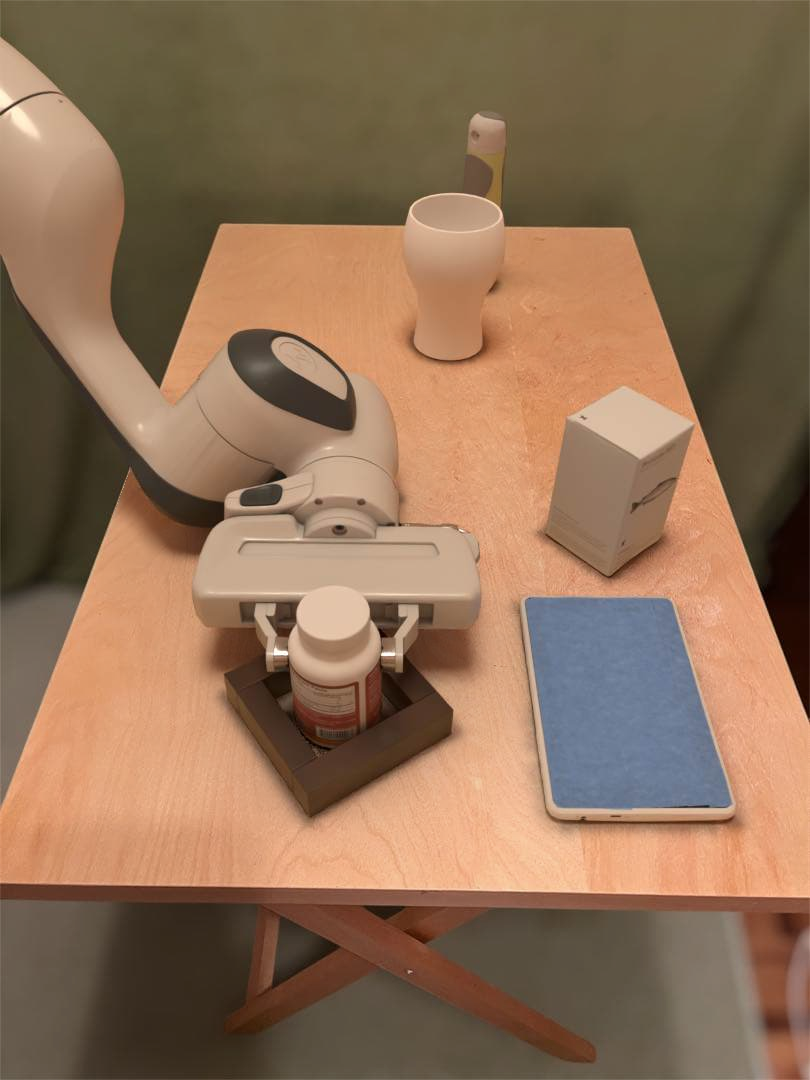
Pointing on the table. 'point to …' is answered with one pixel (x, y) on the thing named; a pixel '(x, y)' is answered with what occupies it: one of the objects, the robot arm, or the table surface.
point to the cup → (452, 269)
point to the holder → (356, 758)
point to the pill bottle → (335, 666)
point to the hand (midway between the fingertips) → (334, 666)
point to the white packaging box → (616, 477)
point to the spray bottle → (486, 157)
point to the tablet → (620, 712)
